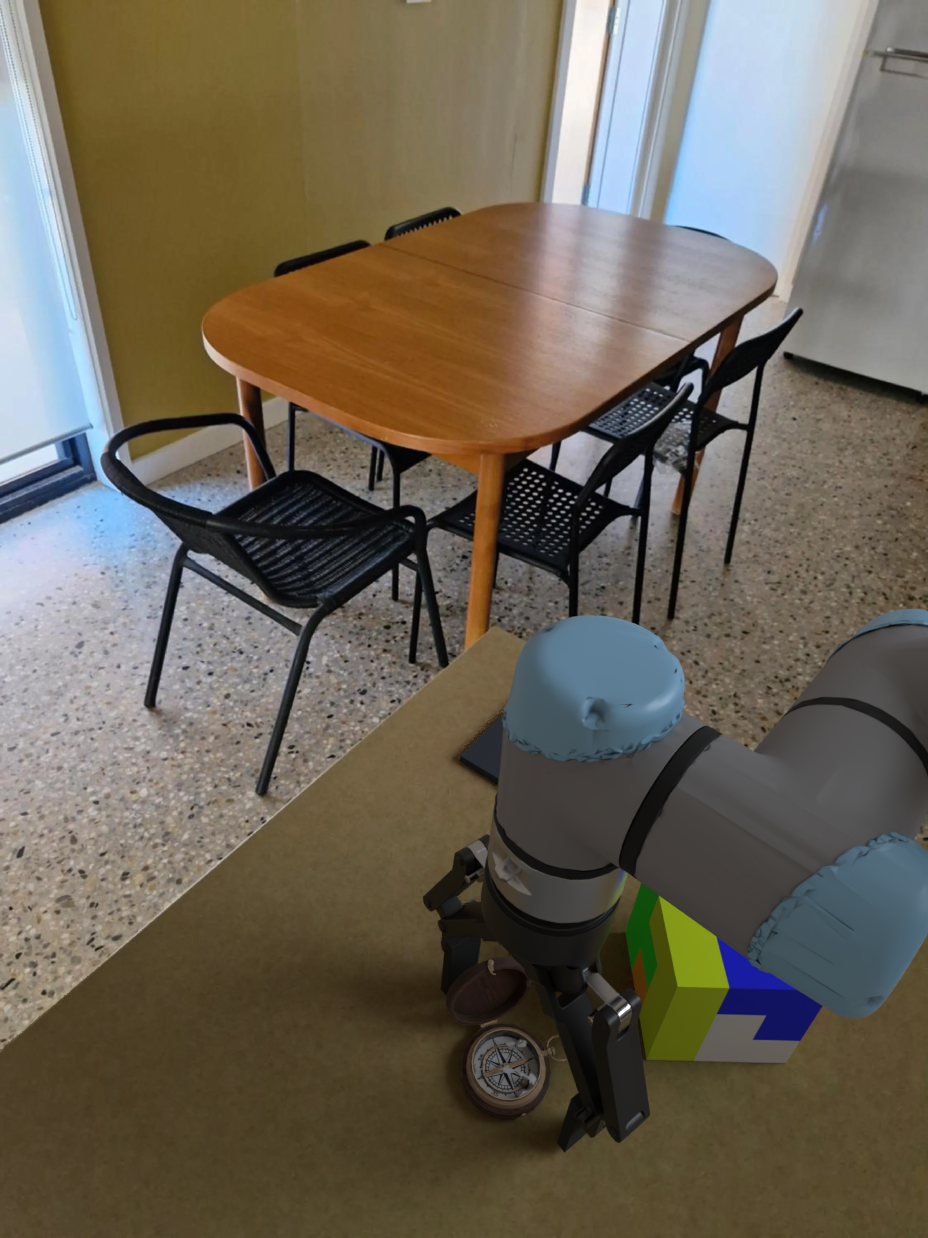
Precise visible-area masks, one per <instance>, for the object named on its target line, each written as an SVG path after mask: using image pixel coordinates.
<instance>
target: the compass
mask: <svg viewBox="0 0 928 1238" xmlns="http://www.w3.org/2000/svg"><path fill="white" fill-rule="evenodd" d="M531 986H532V984H531V980H530V979H528V977H527V975H526V972H525V970H524V968H523V967H522V966H521V965H520V964H519V963H518V962H517V961H516V960H515V959H514V958H513V957H512V956H498V957H492V958H488V959H485V960H483V961H480V962H478V964H476V965H474V966H472V967H471V968H469V969H468V970H466V971H465V972H464V973H463V974H461V975H460V976H459V977H458V978H457V979H456V980H455V981H454V983H453V984H452V985H451V987H450V988H449V990H448V993H447V995H446V996H445V1006H446V1008H447V1011H448V1014H449V1016H450V1018H451V1019H452V1021H454V1022H456V1024H459V1025H464V1026H479V1027H480V1029H478V1030H477V1031H476V1032H475V1033H474V1034H473V1035H472V1036H471V1037H470V1038H469V1040H468V1041H467V1043H466V1045H465V1047H464V1049H463V1051H462V1056H461V1059H460V1066H459V1067H460V1080H461V1083H462V1086H463V1088H464V1092H465V1093H466V1095H467V1096H468V1097H469V1099H470V1100H471V1102H472V1103H473V1104H474V1105H475V1106H476V1107H477V1108H479V1109H480V1110H481V1111H482V1112H484V1113H485V1114H488V1115H490V1116H492V1117H495V1118H499V1119H515V1118H524V1117H526V1116H527V1114H529V1113H530V1112H533V1111H535V1109H536V1108H537V1107H538V1106H539V1105H540V1104H541V1103H542V1102H543V1100H544V1098H545V1096H546V1094H547V1091H548V1089H549V1086H550V1079H551V1073H552V1072H551V1066H550V1059H551V1060H553V1061H554V1062H558V1063H563V1062H567V1061H568V1060H567V1057H565V1058H562V1059H561V1058H560V1059H559V1058H556V1057H554V1055H556V1048H555V1047H554V1045H553V1046H550V1047H549V1044H550V1042H551V1040H553V1039H556V1038H559V1039H560V1036H559V1034H557V1035H556V1034H555V1035H552V1036H551V1037H549V1038H548V1039H547V1041H546V1043H545V1046H543V1044H542V1043H541V1041H540V1040H539V1039H538V1038H537V1036H535V1034H532V1033H531V1032H530V1031H529V1030H528V1029H526V1028H524V1027H521V1026H519V1025H517V1024H514V1023H507V1022H498V1019H500V1018H502V1017H504V1016H505V1015H507V1014H509V1013H510V1012H511V1011H513V1010H514V1009H515V1008H517V1007H518V1006H519V1004H521V1003H522V1001H523V1000H524V999H525V998H526V996H527V995H528V994H529V991H530V989H531ZM549 1058H550V1059H549Z"/></svg>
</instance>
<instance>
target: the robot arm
mask: <svg viewBox="0 0 928 1238" xmlns="http://www.w3.org/2000/svg"><path fill="white" fill-rule="evenodd" d="M685 681H686V679H685V673H684V669H683V667H682V664H681V663H680V659H678V657H677V656H676V655H674V654H673V653H671V652H670V651H669V650H668V648H667V647H666V646H665V643H664V640H663V639H662V638H660V637H659V636H658V635H657V634H655V633H654V632H652V631H650V630H649V629H647V628H645V627H643V626H641V625H639V624H637V623H634V622H631V621H628V620H625V619H622V618H618V617H613V616H608V615H607V616H606V615H597V614H596V615H595V614H591V615H587V614H586V615H576V616H575V615H574V616H570V617H565V618H563V619H560V620H557V621H555V622H551V623H550V624H548V625H546V626H545V627H543V628H541V629H540V630H538V631H536V632H535V633H534V634H533V635H532V636H531V637H530V638H529V639H528V640H527V642H526V643H525V644H524V645H523V647H522V649H521V651H520V653H519V654H518V657H517V661H516V665H515V668H514V673H513V678H512V683H511V686H510V690H509V691H510V692H509V695H508V699H507V704H506V705H505V706H504V707H503V713H502V715H503V718H502V722H503V738H502V751H501V763H500V773H499V782H498V784H497V790H496V793H495V795H494V804H493V808H492V816H491V825H490V830H489V834H488V833H487V834H484V835H482V836H481V837H479V838H477V839H476V840H474V841H472V842H470V843H469V844H468V845H466V846H464V847H461V849H459V850H458V851H456V852H454V854H453V855H454V857H453V860H452V861H453V863H452V866H451V867H452V868H451V869H450V870H449V871H448V873H446V874H445V875H444V876H443V877H442V878H441V879H440V880H439V881H438V882H437V883H436V884H435V885H434V886H433V887H431V888H430V889H429V890H428V891H427V892H426V893H425V894H424V895H423V896H422V902H423V905H424V906H425V908H426V909H427V910H428V912H431V913H433V912H434V911H436V912H437V913H436V914H437V915H438V916H439V917H440V919H438V920H437V926H438V929H439V931H440V932H441V938H440V947H441V950H442V952H443V960H442V971H441V979H440V980H441V981H440V991H441V993H442V994H443V995H444V996H445V997H446V995H447V993H448V990H449V988H450V987H451V985H452V984H453V983H454V981H455V980H456V979H457V978H458V977H459V976H460V975H461V974H463V973H464V972H465V971H466V970H468V969H469V968H471V967H472V966H474V965H476V964H478V963H479V960H480V959H479V958H480V951H481V944H482V941H483V942H489V943H490V942H492V943H494V942H495V943H497V944H498V945H500V946H501V947H502V948H504V950H505V951H507V953H508V954H509V955H510V957H513V958H514V959H515V960H516V961H517V962H518V963H519V964H520V965H521V966H522V967H523V968H524V970H525V972H526V975H527V977H528V979H530V982H532V983H533V987H534V989H535V992H536V995H537V998H538V1001H539V1004H540V1007H541V1010H542V1012H543V1015H544V1016H546V1017H547V1018H549V1019H551V1020H553V1021H554V1024H555V1028H556V1030H557V1033H558V1034H557V1035H559V1036H560V1038H559V1039H560V1042H561V1046H562V1048H563V1051H564V1054H565V1058H567V1060H566V1061H567V1063H568V1066H569V1068H570V1071H571V1075H572V1078H573V1080H574V1083H575V1086H576V1089H577V1093H576V1094H575V1095H573V1097H571V1099H570V1100H569V1104H568V1107H567V1110H566V1112H565V1116H564V1119H563V1122H562V1126H561V1128H560V1131H559V1134H558V1137H557V1140H556V1144H557V1145H558V1147H560V1149H561V1150H562V1151H563V1153H566V1152H567V1151H569V1150H570V1148H572V1147H573V1146H574V1145H575V1144H576V1143H577V1142H579V1141H580V1140H581V1139H582V1138H583V1137H584V1136H585V1135H587V1136H589V1138H591V1139H592V1138H593V1139H594V1138H595V1137H596V1136H597V1135H599V1134H600V1133H601V1132H602V1131H603V1130H604V1129H606V1131H607V1133H608V1135H609V1136H610V1137H611V1139H612V1140H613V1141H614V1142H616V1143H617V1144H621V1143H622V1142H623V1141H624V1140H625V1139H627V1137H629V1136H630V1135H631V1134H632V1133H633V1132H634V1131H635V1130H636V1129H637V1128H639V1127H640V1126H641V1125H642V1124H643V1123H644V1122H645V1121H646V1120H648V1118H649V1117H650V1116H651V1111H650V1104H649V1103H650V1101H649V1095H648V1089H647V1082H646V1081H647V1080H646V1076H645V1075H646V1074H645V1068H644V1060H643V1054H642V1047H641V1039H640V1032H639V1025H638V1021H639V1020H640V1018H639V1015H640V1011H641V1008H642V1002H641V1000H640V998H639V996H638V995H637V993H636V992H635V990H634V989H633V988H630V987H627V988H625V989H624V990H622V992H621V993H620V992H617V991H616V990H615V988H613V986H612V985H610V983H608V981H607V980H605V978H604V977H603V976H602V972H603V969H602V963H601V957H600V953H601V950H602V949H603V947H604V945H605V943H606V941H607V940H608V937H609V934H610V933H611V930H612V927H613V923H614V920H615V917H616V914H617V910H618V907H619V905H620V901H621V898H622V894H623V892H624V889H625V886H626V883H627V880H628V876H630V877H631V876H632V877H633V878H634V879H635V880H637V881H638V882H639V883H640V884H641V883H642V884H643V885H645V886H646V887H648V888H649V889H650V890H652V891H653V892H655V893H656V894H657V895H659V896H660V897H662V898H663V899H664V900H666V901H667V902H669V903H670V904H671V905H673V906H674V907H676V908H677V909H678V910H680V911H681V912H683V913H684V914H685V915H687V916H688V917H690V918H691V919H692V920H694V921H695V922H697V923H698V924H699V925H701V926H702V927H704V928H705V929H706V930H708V931H709V932H711V933H712V934H713V935H715V936H716V937H718V938H719V939H720V940H722V941H723V942H724V943H726V944H727V945H729V946H730V947H731V948H733V949H734V950H736V951H737V952H738V953H740V954H741V955H743V956H744V957H745V958H747V959H748V961H749V962H750V963H751V965H752V966H754V967H756V968H758V969H759V970H761V971H763V972H765V973H771V974H772V975H774V976H776V977H777V978H779V979H780V980H782V981H784V982H785V983H787V984H789V985H790V986H792V987H793V988H795V989H797V990H798V991H800V992H801V993H803V994H805V995H806V996H808V997H809V998H811V999H813V1000H814V1001H816V1002H817V1003H819V1004H820V1005H822V1007H823V1008H825V1009H827V1010H828V1011H830V1012H831V1013H833V1014H834V1015H836V1016H839V1017H841V1018H844V1019H845V1018H846V1019H852V1020H856V1019H862V1018H865V1017H868V1016H870V1015H872V1014H874V1013H875V1012H876V1011H877V1010H879V1008H880V1007H882V1005H883V1004H884V1003H885V1002H886V1000H887V999H888V998H889V996H890V995H891V993H892V992H893V991H894V989H895V987H896V986H897V984H899V982H900V981H901V979H902V977H903V976H904V974H905V973H906V972H907V969H909V966H910V965H911V963H912V962H913V960H914V959H915V957H916V955H917V954H918V952H919V950H920V948H921V947H922V945H923V943H924V942H925V940H926V938H927V936H928V850H927V849H925V848H924V847H923V846H921V844H919V843H918V841H917V840H916V838H917V836H918V834H919V832H920V830H921V827H922V826H923V823H924V822H925V819H926V818H927V816H928V610H925V609H924V608H923V609H922V608H902V609H896V610H892V611H889V612H885V613H882V614H880V615H878V616H875V617H874V618H872V619H871V620H869V621H868V622H866V623H865V624H864V625H862V626H861V628H859V629H858V630H857V631H856V632H855V633H854V634H853V635H852V636H851V637H850V638H848V639H846V640H845V639H844V640H843V641H842V642H841V643H840V644H839V645H838V646H837V647H836V648H835V650H834V651H833V652H832V653H831V654H830V656H829V657H828V659H827V660H826V662H825V663H824V665H823V667H822V668H821V669H820V670H819V672H818V673H817V674H816V675H815V677H814V678H813V679H812V680H811V681H810V683H809V684H808V685H807V687H806V688H805V689H804V690H803V691H802V693H800V695H798V698H797V699H796V700H795V701H794V702H793V704H792V705H791V706H790V708H788V710H787V711H786V712H785V713H784V715H782V717H781V718H780V719H779V720H778V721H777V723H776V724H775V725H774V726H773V727H772V728H771V730H770V731H769V732H768V733H767V734H766V736H765V737H764V738H763V739H762V740H761V742H759V744H758V745H757V746H756V747H755V748H754V750H752V749H751V748H749V747H747V746H745V745H743V744H742V743H740V742H738V741H737V740H735V739H733V738H731V737H729V736H728V735H726V734H724V733H722V732H720V731H719V730H717V729H715V728H713V727H711V726H709V725H708V724H706V723H705V722H703V721H701V720H700V719H699V718H697V717H694V716H693V715H691V714H689V713H688V712H686V711H684V707H685V704H686V701H685V698H684V695H685V687H686V682H685ZM475 882H477V883H480V884H481V883H482V884H481V892H480V901H477V900H476V899H477V898H476V897H475V896H474V897H473V898H471V899H470V900H468V901H466V902H465V903H464V904H463V903H462V901H461V900H460V898H459V897H458V896H460V895H461V894H462V893H463V892H464V891H466V890H467V889H468V888H469V887H471V886H472V885H473V884H475ZM556 993H560V994H559V995H557V994H556Z"/></svg>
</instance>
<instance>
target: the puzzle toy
mask: <svg viewBox="0 0 928 1238" xmlns="http://www.w3.org/2000/svg"><path fill="white" fill-rule="evenodd" d="M624 933H625V938H626V945H627V950H628V957H629V963H630V968H631V974H632V981H633V986H634V991H635V992H636V993H637V995H638V996H639V998H640V1000H641V1002H642V1008H641V1011H640V1015H639V1024H640V1029H641V1035H642V1041H643V1047H644V1054H645V1060H646V1061H670V1062H671V1061H673V1062H710V1063H711V1062H712V1063H714V1062H715V1063H751V1064H753V1063H754V1064H758V1063H759V1064H787V1062H788V1061H789V1059H790V1058H791V1056H792V1055H793V1053H794V1052H795V1050H796V1049H797V1047H798V1046H799V1044H800V1042H801V1041H802V1039H803V1038H804V1036H805V1035H806V1032H807V1031H808V1030H809V1028H810V1027H811V1025H812V1024H813V1022H814V1021H815V1019H816V1018H817V1016H818V1014H819V1012H820V1011H821V1009H822V1008H823V1006H822V1005H820V1004H819V1003H817V1002H816V1001H814V1000H813V999H811V998H809V997H808V996H806V995H805V994H803V993H801V992H800V991H798V990H797V989H795V988H793V987H792V986H790V985H789V984H787V983H785V982H784V981H782V980H780V979H779V978H777V977H776V976H774V975H772V974H771V973H765V972H763V971H761V970H759V969H758V968H756V967H754V966H752V965H751V963H750V962H749V961H748V959H747V958H745V957H744V956H743V955H741V954H740V953H738V952H737V951H736V950H734V949H733V948H731V947H730V946H729V945H727V944H726V943H724V942H723V941H722V940H720V939H719V938H718V937H716V936H715V935H713V934H712V933H711V932H709V931H708V930H706V929H705V928H704V927H702V926H701V925H699V924H698V923H697V922H695V921H694V920H692V919H691V918H690V917H688V916H687V915H685V914H684V913H683V912H681V911H680V910H678V909H677V908H676V907H674V906H673V905H671V904H670V903H669V902H667V901H666V900H664V899H663V898H662V897H660V896H659V895H657V894H656V893H655V892H653V891H652V890H650V889H649V888H648V887H646V886H645V885H643V884H642V883H641V882H640V885H639V888H638V891H637V895H636V897H635V901H634V904H633V906H632V910H631V913H630V916H629V918H628V921H627V925H626V928H625V931H624Z"/></svg>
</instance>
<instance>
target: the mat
mask: <svg viewBox="0 0 928 1238" xmlns="http://www.w3.org/2000/svg"><path fill="white" fill-rule="evenodd" d="M502 718H503V714H501V716H499V717H498V718H497V719H496V720H495V721H494V722H493V723H492V724H491V725H490V726H489V727H488V728H487V729H486V730H485V731H483V732H482V734H481V735H479V736H478V737H477V739H475V740H474V741H473V742H472V743H471V744H470V745H469V746H468V747H467V748H466V749H465V750H464V751H463V752H462V753H461V754H460V755H459V762H460V763H461V764H463V765H465V766H467V767H468V768H470V769H472V770H474V771H475V772H477V773H478V774H480V775H482V776H483V777H485V778H487V779H488V780H489V781H492V782H493V783H495V784H497V785H498V782H499V773H500V763H501V751H502V738H503V722H502Z"/></svg>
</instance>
